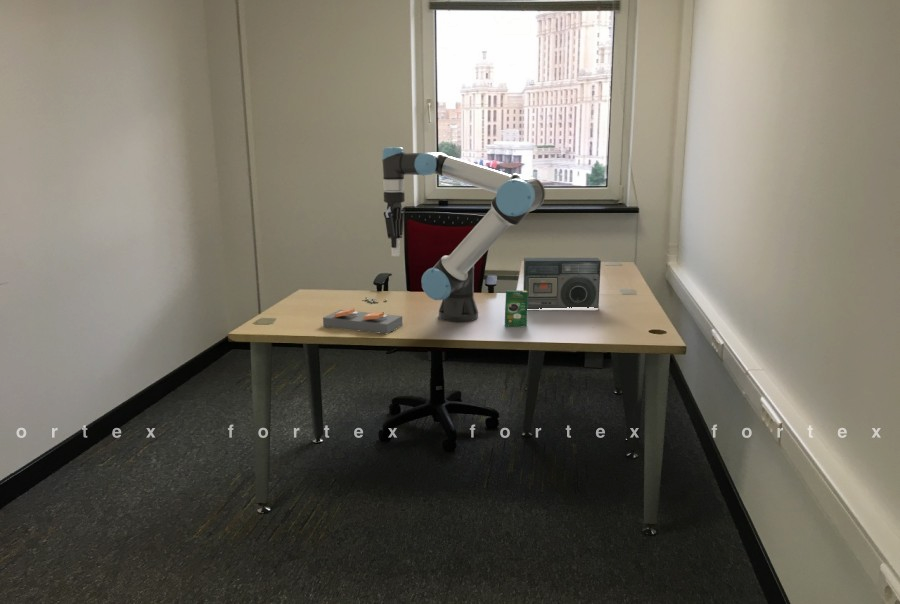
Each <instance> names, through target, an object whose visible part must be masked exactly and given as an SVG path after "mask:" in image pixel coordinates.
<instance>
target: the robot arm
mask: <svg viewBox="0 0 900 604" xmlns="http://www.w3.org/2000/svg"><path fill="white" fill-rule="evenodd" d="M382 172H383V173H382V174H383V175H382V177H383V178H382V180H383V181H382V186H383V191H384V192H383V202H384V203H386V204H387V206H386V211H384V212H383V217H384V222H385V227H386V228H385V229H386V234H387V238H388V239H390V249H391V253H390V254H391V255H390V256H391V257H401V247H400V244H401V243H400V239H402V238H403V233H404V232H403V231H404V221H405V212H406V209H405V208H403V206H402V203H405V200H406V199H405V198H406V197H405V191H404V190H405V175H407V176H408V175H411V176H413V175H414V176H415V175H416V176H430V175H434V174H435V175H438V176H440V177H445V178H448V179H451V180H453V181H457V182H459V183H464V184H467V185H470V186H472V187H475V188H480V189H481V190H485V191H488V192H491V193H495V194H496V195H495V197H494V198H493V199H492V201H491V202H490V205H491V206H490V209H489V210H488V211H487V213H486V214H485V215H484V216H483V217H482V218H481V219H480V220H479V221H478V223H477V224H476V225H474V227H473V228H472V230H470V232H469V233H468V234H467V235H466V236H465V237H464V238H463V239H462V241H461V242H460V243H459V244H458V245H457V246H456V247H455V248H454V250H453V251H452V252H451V253H450V254H448V255H443V256H442V257H440V259H439V260H438V261H437V262H436V263H435V265H434V266H433V267H430V268H428V269H427V270H426V271H424V272H423V274H422V276H421V288H422V290H423V292H424V293H425V295H426V296H428V297H429V298H430V299H432V300H435V301H441V302H440V305H439V308H438V318H439V319H440V320H442V321H445V322H453V323H457V322H459V323H462V322H463V323H464V322H470V321H474V320H477V319H478V318H479V309H478V307H477V304H476V300H475V297H474V291H475V289H474V288H475V287H474V285H475V284H474V283H475V278H474V277H475V264H476V263H477V262H478V261H479V260H480V259H481V258H482V257H483V255H485V254H486V253H487V251H488V250H489V249H491V247H492V246H493V245H494V243H496V241H497V240H498V239H499V238H500V237H502V235H503V234H504V233H505V232H506V231H507V230H508V228H510V226H517V225H518V224H519V223H520V222H521V221H522V220H523V219H524V218H526V216H527V215H528V214H529V213H530V212H532V211H533V212H534V211H536V210H537V209H539V208H540V207H541V206H542V205H543V204H544V201H545V199H546V189H545V186H544V184H543V182H541V181H540V180H539V179H538V178H536V177H532V176H528V175H527V176H526V175H523V174H519V173H516V172H515V173H513V174H510V173H509V174H508V173H506V172H503V171H499V170H496V169H492V168H489V167H486V166H483V165H479V164H476V163H473V162H470V161H466V160H463V159H460V158H457V157H453V156H451V155H450V156H449V155H447V154H446V153H445V152H441V151H431V152H405V150H404V148H403V147H401V146H399V147H397V146H395V147H394V146H392V147H387V146H386V147H384V148H383V149H382Z"/></svg>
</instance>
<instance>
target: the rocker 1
mask: <svg viewBox="0 0 900 604" xmlns="http://www.w3.org/2000/svg"><path fill="white" fill-rule="evenodd" d="M344 310H345V311H340V312H338V313H336V314H334V315H335V317H340V316H344V315H349V314H351V313H353V312H355V311H356V310H355V308H350V309H347V310H346V309H344Z"/></svg>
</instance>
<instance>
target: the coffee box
mask: <svg viewBox="0 0 900 604" xmlns="http://www.w3.org/2000/svg"><path fill="white" fill-rule="evenodd" d="M504 307H505V308H504V327H510V326H511V327H521V326H523V327H528V310H527V308H528V291H523V290H511V289H509V290H508V289H506V290H505V306H504Z"/></svg>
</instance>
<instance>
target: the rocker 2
mask: <svg viewBox="0 0 900 604" xmlns="http://www.w3.org/2000/svg"><path fill="white" fill-rule="evenodd" d="M369 313H370V314H367V315H365V316H363V317H364V320H367V319H378V318H381V317H382V316H384V314H385V312H369Z"/></svg>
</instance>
